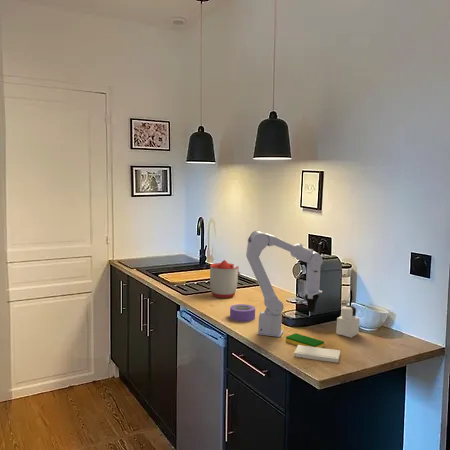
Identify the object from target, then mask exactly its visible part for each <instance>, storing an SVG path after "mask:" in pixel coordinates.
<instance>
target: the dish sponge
mask: <svg viewBox="0 0 450 450" xmlns="http://www.w3.org/2000/svg"><path fill="white" fill-rule="evenodd" d="M285 343H288V344H292V345H295V346H298V345H303V346H310V347H318V348H324V347H325V340H320V339H316V338H313V337H310V336H307V335H303V334H300V333H292V334H290V335H288V336H286V337H285Z"/></svg>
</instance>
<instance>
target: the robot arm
mask: <svg viewBox="0 0 450 450" xmlns="http://www.w3.org/2000/svg"><path fill="white" fill-rule="evenodd" d="M246 246H247V247H246V254H245V257H246V258H247V261H248V263H249V266H250V268H251V270H252V272H253V274H254V276H255V279H256V282H257V283H258V285H259V288H260V291H261V293H262V297H263V301H264V303H263V304H264V306H265V310H264V311H260V312H259V315H258V327H257V328H258V332H257V334H258V335H260V336H267V337H270V336H271V337H277V338H281V337H282V334H283V333H284V330H283V329H282V323H283V322H282V321H283V319H282V317H283V310H284V303H283V302H282V301H281V300H280V299H279V297H278V296H277V294H276V292H275V290H274V288H273V286H272V284H271V282H270V279H269V277H268V275H267V273H266V269H265V268H264V265H263V263H262V261H261V258H260V256H261V253H262V252H263V251H264V250H265V249H266V247H272V246H275V247H277V248H280V249H283V250H285V251H287V252H289V253H290V255H291V257H293V258H295V259H297V260H299V261H301V262H304V263H306V274H305V275H306V276H305V279H306V280H305V291H304V292H305V293H306V294H305V295H304V298H305V301H306V303H307V309H308V312H310V313H314V312H315V310H316V305H317V302H318V299H319V297H320V294H322V293H323V290H320V284H321V283H320V282H321V266H322V265H323V262H324V260H323V256H322V255H321V254H320V253H319V252H316V251H315V250H314V249H313V248H308V247H305V246H304V244H303V243H296V244H295V243H294V244H291V243H290V242H287V241H285V240H283V239H281V238H280V237H277V236H275V235H273V234H271V233H266V232H262V231H260V230H254V231H252V232H251V233H250V235H249V236H248V238H247V245H246Z"/></svg>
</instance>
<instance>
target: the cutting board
mask: <svg viewBox="0 0 450 450" xmlns="http://www.w3.org/2000/svg"><path fill="white" fill-rule="evenodd" d="M294 356H296V357H295V358H301V357H302V358H303V359H310V360H314V361H315V360H316V361H323V362H332V363H336V364H337V363H338V364H339V361H340V357H341V350H339V349H338V350H337V349H332V348H324V347H322V348H318V347H310V346H303V345H296V349H295V350H294V352H293V357H294ZM302 358H301V359H302Z"/></svg>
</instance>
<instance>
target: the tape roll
mask: <svg viewBox="0 0 450 450" xmlns="http://www.w3.org/2000/svg"><path fill="white" fill-rule="evenodd" d="M229 318H230V320H232V319H234V320H233V321H236V320H237V321H236V322H251V321H255V319H256V306H253V305H251V304H245V303H244V304H243V303H241V304H237V303H236V304H233V305H230V309H229Z"/></svg>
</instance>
